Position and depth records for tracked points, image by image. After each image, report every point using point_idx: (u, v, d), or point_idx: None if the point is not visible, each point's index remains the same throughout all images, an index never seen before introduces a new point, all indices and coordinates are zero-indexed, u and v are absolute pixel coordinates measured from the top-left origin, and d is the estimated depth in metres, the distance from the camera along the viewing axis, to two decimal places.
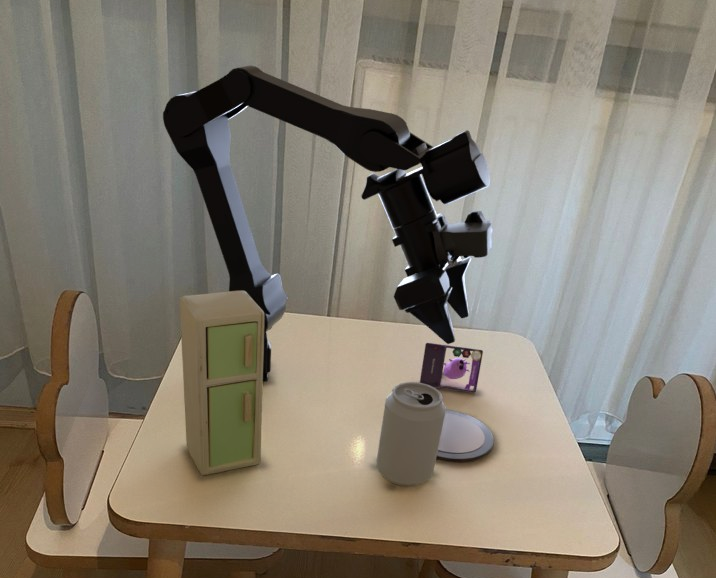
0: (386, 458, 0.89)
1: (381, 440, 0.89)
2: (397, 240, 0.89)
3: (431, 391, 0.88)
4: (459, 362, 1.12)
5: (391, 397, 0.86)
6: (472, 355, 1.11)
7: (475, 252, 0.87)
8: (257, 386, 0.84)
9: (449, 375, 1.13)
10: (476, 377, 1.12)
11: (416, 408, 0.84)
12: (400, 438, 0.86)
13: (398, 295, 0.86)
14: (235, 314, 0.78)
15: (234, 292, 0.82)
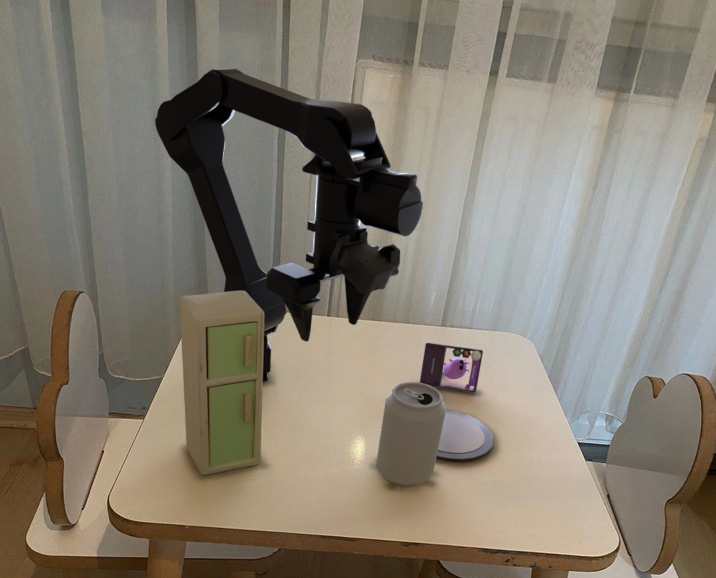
0: (386, 458, 0.89)
1: (381, 440, 0.89)
2: (311, 226, 0.89)
3: (431, 391, 0.88)
4: (459, 362, 1.12)
5: (391, 397, 0.86)
6: (472, 355, 1.11)
7: (357, 284, 0.87)
8: (257, 386, 0.84)
9: (449, 375, 1.13)
10: (476, 377, 1.12)
11: (416, 408, 0.84)
12: (400, 438, 0.86)
13: (267, 275, 0.88)
14: (235, 314, 0.78)
15: (234, 292, 0.82)
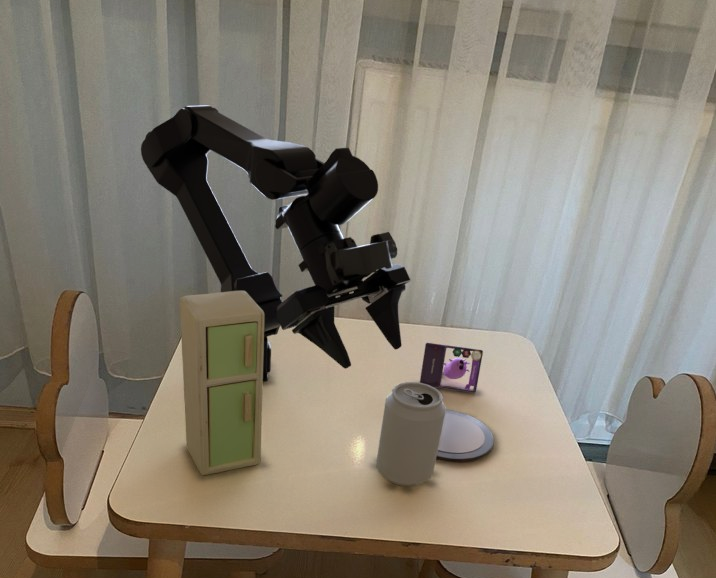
0: (386, 458, 0.89)
1: (381, 440, 0.89)
2: (302, 265, 0.89)
3: (431, 391, 0.88)
4: (459, 362, 1.12)
5: (391, 397, 0.86)
6: (472, 355, 1.11)
7: (358, 269, 0.82)
8: (257, 386, 0.84)
9: (449, 375, 1.13)
10: (476, 377, 1.12)
11: (416, 408, 0.84)
12: (400, 438, 0.86)
13: (276, 314, 0.85)
14: (235, 314, 0.78)
15: (234, 292, 0.82)
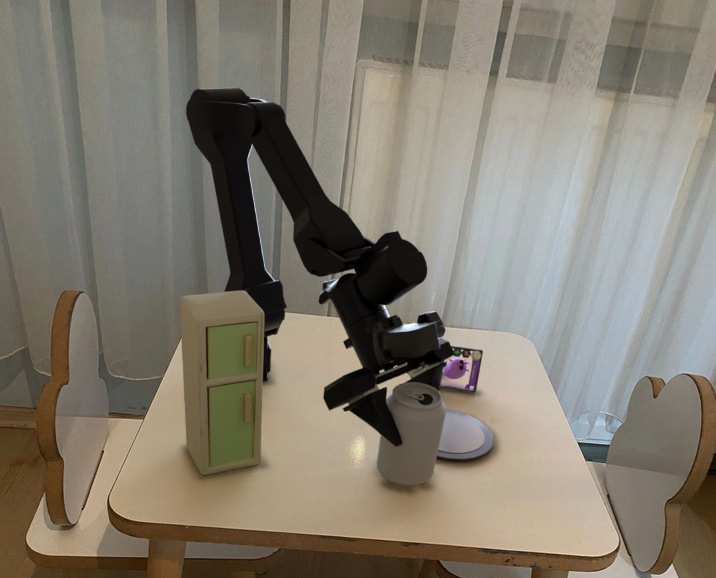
0: (386, 458, 0.89)
1: (381, 440, 0.89)
2: (347, 342, 0.88)
3: (431, 391, 0.88)
4: (459, 362, 1.12)
5: (391, 397, 0.86)
6: (472, 355, 1.11)
7: (408, 352, 0.81)
8: (257, 386, 0.84)
9: (449, 375, 1.13)
10: (476, 377, 1.12)
11: (416, 408, 0.84)
12: None
13: (323, 395, 0.84)
14: (235, 314, 0.78)
15: (234, 292, 0.82)
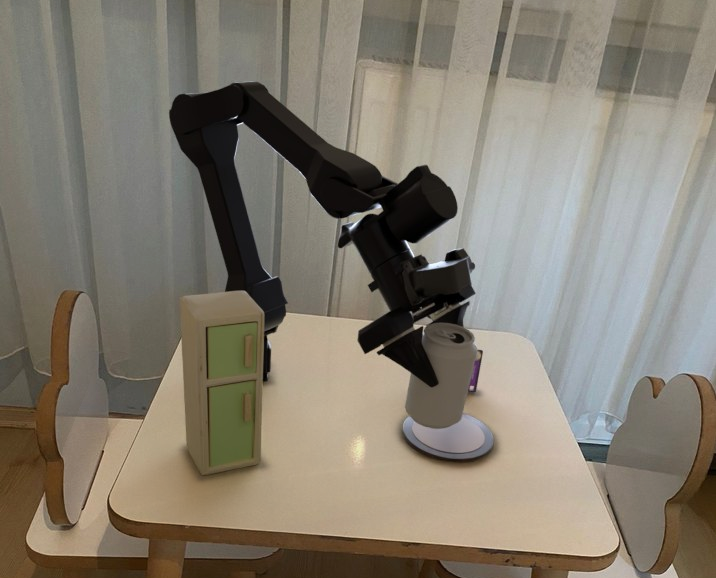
0: (419, 401, 0.88)
1: (413, 383, 0.88)
2: (372, 285, 0.86)
3: (459, 330, 0.88)
4: None
5: (423, 338, 0.85)
6: None
7: (444, 289, 0.81)
8: (257, 386, 0.84)
9: None
10: (476, 377, 1.12)
11: (452, 346, 0.83)
12: None
13: (359, 339, 0.82)
14: (235, 314, 0.78)
15: (234, 292, 0.82)
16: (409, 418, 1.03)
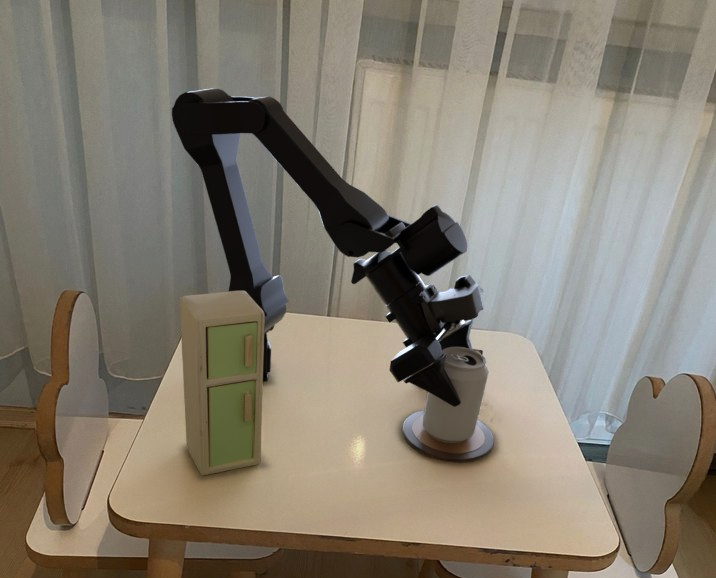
0: (440, 420, 0.96)
1: (433, 405, 0.96)
2: (390, 316, 0.93)
3: (468, 352, 0.97)
4: None
5: None
6: None
7: (464, 316, 0.89)
8: (257, 386, 0.84)
9: None
10: None
11: (471, 369, 0.92)
12: None
13: (392, 369, 0.89)
14: (235, 314, 0.78)
15: (234, 292, 0.82)
16: (409, 418, 1.03)
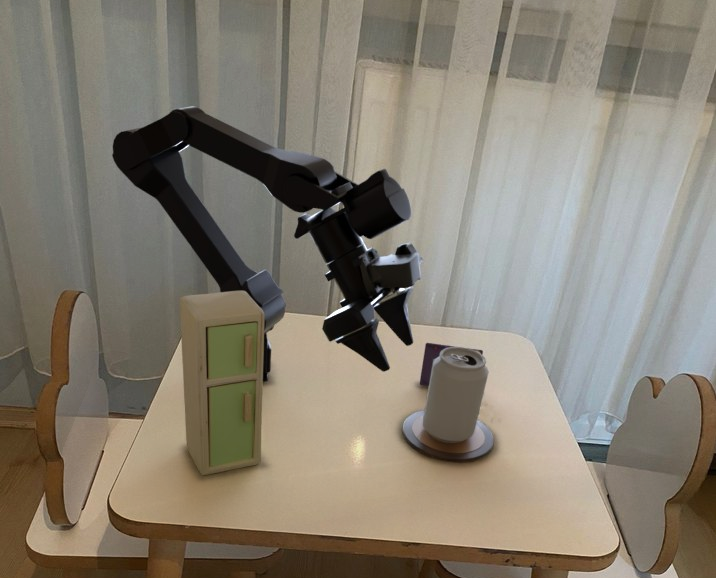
0: (440, 420, 0.96)
1: (433, 405, 0.96)
2: (329, 275, 0.94)
3: (468, 352, 0.97)
4: None
5: (441, 364, 0.94)
6: None
7: (400, 283, 0.90)
8: (257, 386, 0.84)
9: None
10: None
11: (471, 369, 0.92)
12: (457, 399, 0.94)
13: (325, 328, 0.90)
14: (235, 314, 0.78)
15: (234, 292, 0.82)
16: (409, 418, 1.03)
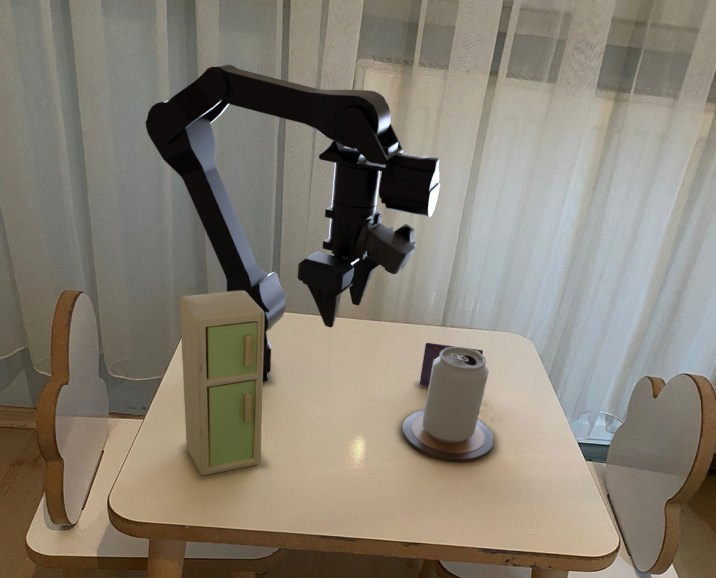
0: (440, 420, 0.96)
1: (433, 405, 0.96)
2: (329, 213, 0.91)
3: (468, 352, 0.97)
4: None
5: (441, 364, 0.94)
6: None
7: (387, 266, 0.91)
8: (257, 386, 0.84)
9: None
10: None
11: (471, 369, 0.92)
12: (457, 399, 0.94)
13: (301, 266, 0.88)
14: (235, 314, 0.78)
15: (234, 292, 0.82)
16: (409, 418, 1.03)
